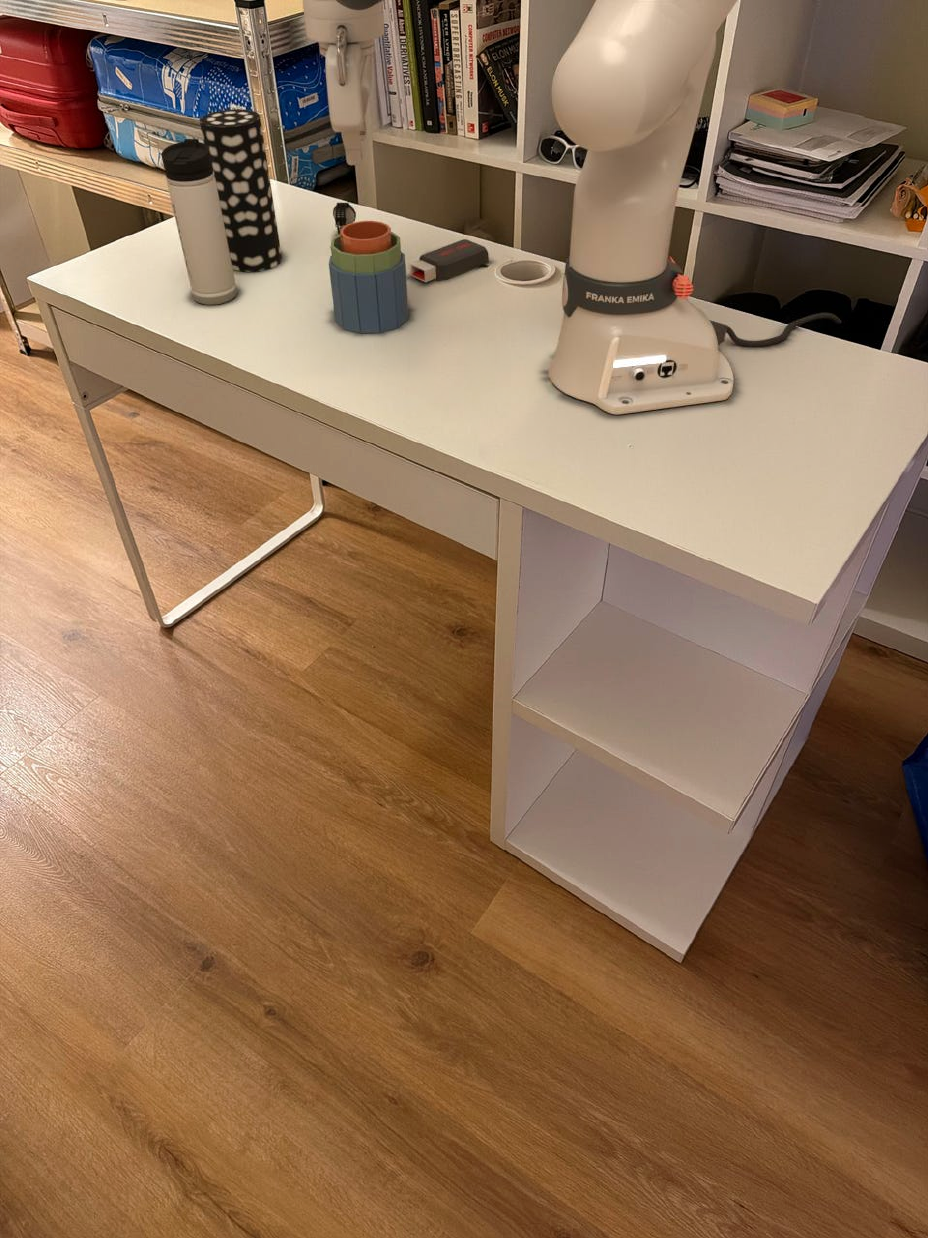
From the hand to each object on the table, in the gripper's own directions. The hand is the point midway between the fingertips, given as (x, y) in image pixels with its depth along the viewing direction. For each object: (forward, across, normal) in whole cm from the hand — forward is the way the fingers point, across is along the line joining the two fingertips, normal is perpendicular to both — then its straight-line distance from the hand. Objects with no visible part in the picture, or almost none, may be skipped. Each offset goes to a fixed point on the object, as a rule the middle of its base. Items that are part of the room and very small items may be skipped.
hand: (357, 150), depth 111 cm
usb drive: (+22, +15, -11) cm, 28 cm away
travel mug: (+21, +8, +23) cm, 32 cm away
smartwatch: (+21, +29, +6) cm, 36 cm away
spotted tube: (+21, +20, +19) cm, 35 cm away
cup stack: (+21, 0, 0) cm, 21 cm away
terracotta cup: (+19, 0, 0) cm, 19 cm away
